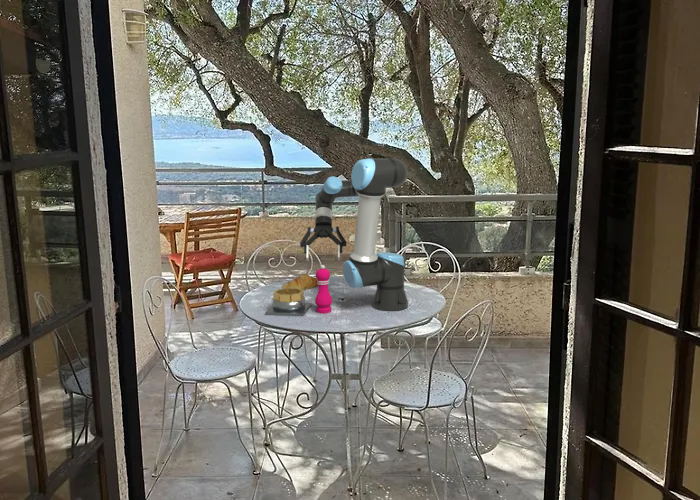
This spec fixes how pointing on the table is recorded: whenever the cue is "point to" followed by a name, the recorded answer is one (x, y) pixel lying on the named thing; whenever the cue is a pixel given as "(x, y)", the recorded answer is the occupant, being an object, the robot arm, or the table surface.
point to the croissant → (302, 282)
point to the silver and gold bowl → (289, 303)
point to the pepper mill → (323, 291)
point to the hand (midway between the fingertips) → (323, 259)
